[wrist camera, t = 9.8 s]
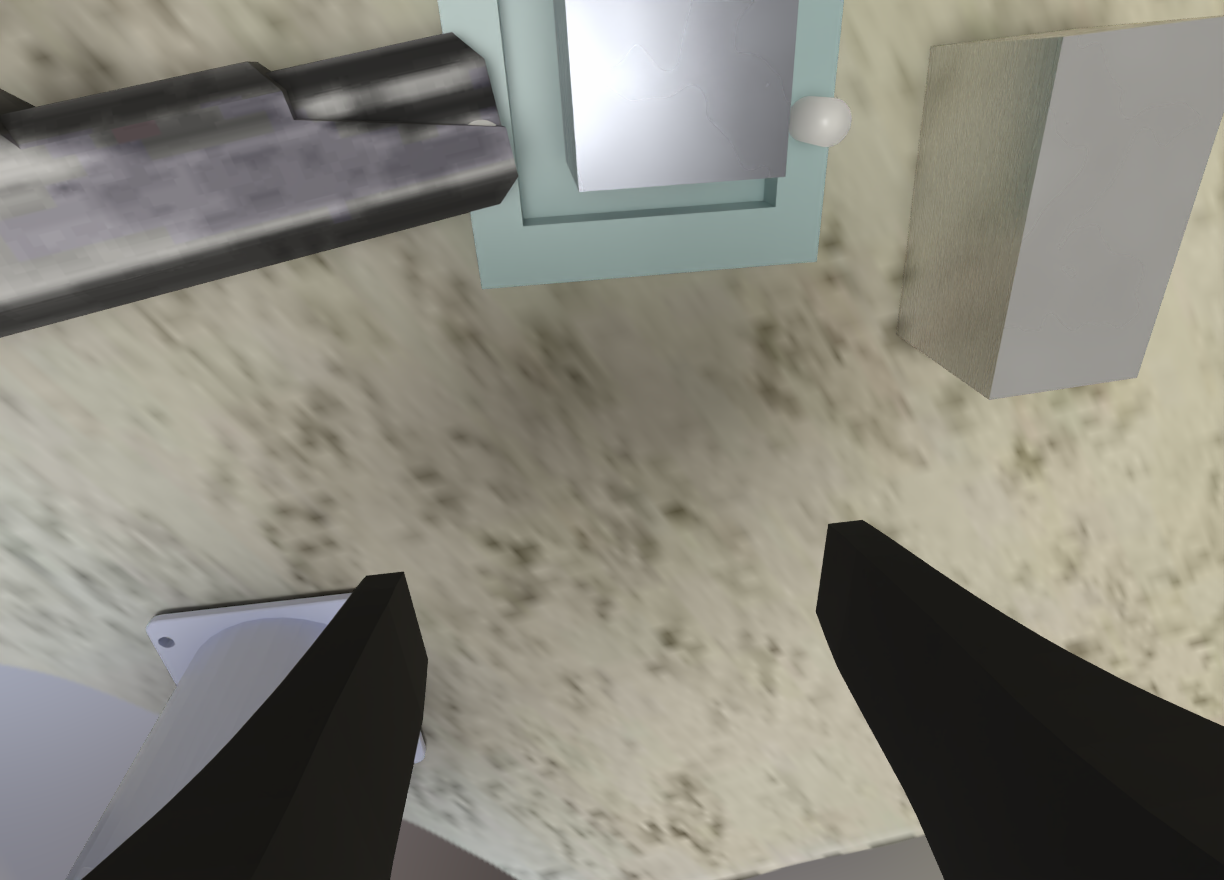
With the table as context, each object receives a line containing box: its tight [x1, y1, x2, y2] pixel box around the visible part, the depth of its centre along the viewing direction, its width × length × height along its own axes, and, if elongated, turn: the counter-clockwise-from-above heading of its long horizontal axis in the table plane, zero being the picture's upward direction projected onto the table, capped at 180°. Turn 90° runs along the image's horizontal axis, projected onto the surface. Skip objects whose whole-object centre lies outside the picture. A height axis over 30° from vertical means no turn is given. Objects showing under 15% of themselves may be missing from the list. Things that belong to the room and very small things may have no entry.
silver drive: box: [896, 15, 1224, 400], centre depth 17 cm, size 8×4×5 cm, turn 6°
